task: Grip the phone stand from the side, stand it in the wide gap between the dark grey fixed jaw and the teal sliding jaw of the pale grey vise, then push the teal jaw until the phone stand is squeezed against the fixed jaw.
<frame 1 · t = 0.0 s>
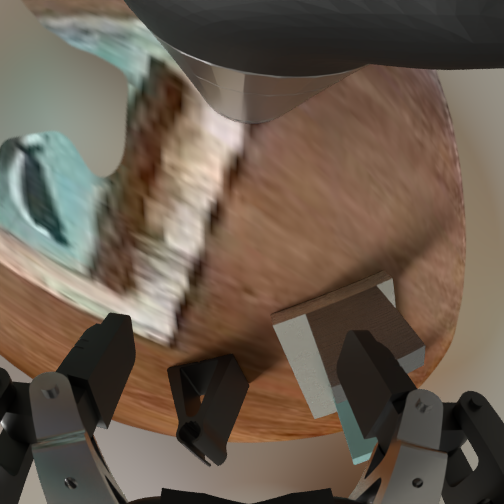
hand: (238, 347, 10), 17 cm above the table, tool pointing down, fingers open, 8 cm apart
phone stand: (208, 375, 33), on the table
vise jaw: (372, 423, 29), point 7 cm above the table, slide at 0.0 cm
vise: (349, 348, 32), on the table
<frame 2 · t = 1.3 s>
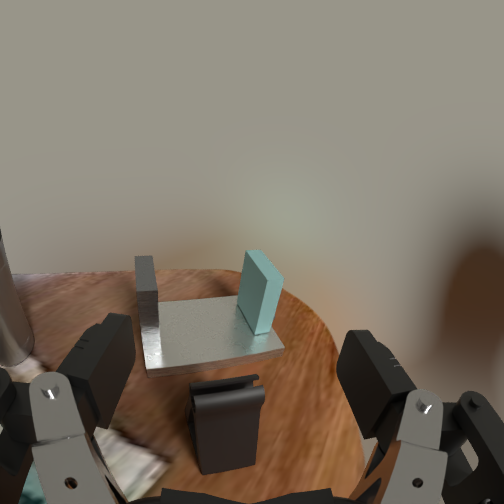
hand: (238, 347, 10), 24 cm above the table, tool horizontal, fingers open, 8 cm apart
phone stand: (217, 439, 27), on the table
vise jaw: (261, 291, 42), point 7 cm above the table, slide at 0.0 cm
vise: (201, 332, 42), on the table
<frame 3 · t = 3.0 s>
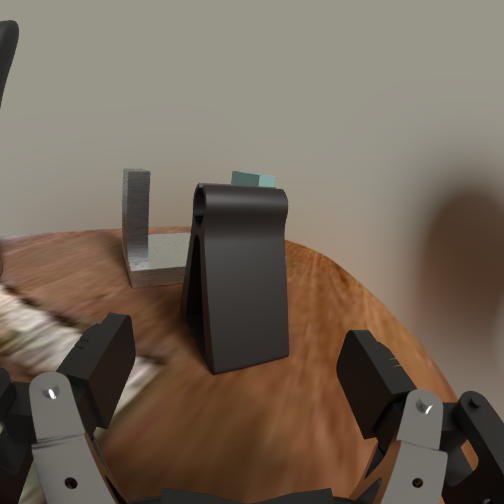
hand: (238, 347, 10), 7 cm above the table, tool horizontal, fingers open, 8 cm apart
phone stand: (228, 336, 23), on the table
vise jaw: (252, 207, 41), point 7 cm above the table, slide at 0.0 cm
vise: (192, 258, 39), on the table
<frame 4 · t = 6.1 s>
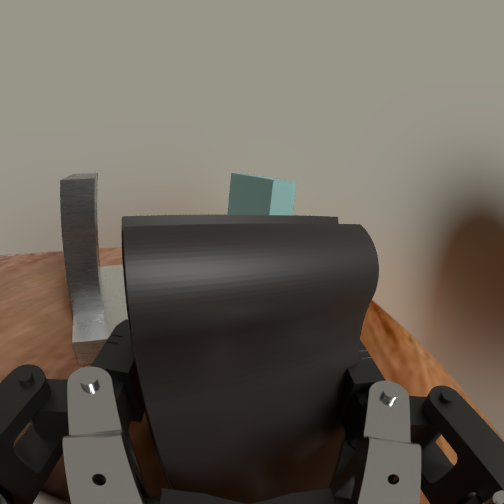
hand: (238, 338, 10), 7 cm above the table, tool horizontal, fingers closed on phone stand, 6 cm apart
phone stand: (229, 477, 10), on the table, touching gripper
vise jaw: (260, 226, 28), point 7 cm above the table, slide at 0.0 cm
vise: (174, 302, 26), on the table
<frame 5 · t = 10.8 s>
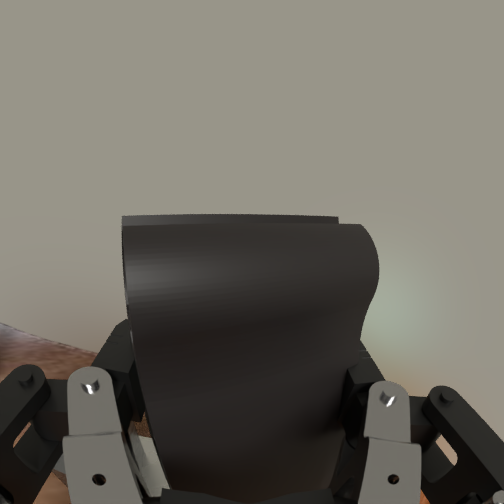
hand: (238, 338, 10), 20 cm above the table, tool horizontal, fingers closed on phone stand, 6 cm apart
phone stand: (229, 477, 10), point 12 cm above the table, touching gripper
when the fingers open (11 cm above the table, at t = 12.8 s): phone stand drops 2 cm, resting on vise.
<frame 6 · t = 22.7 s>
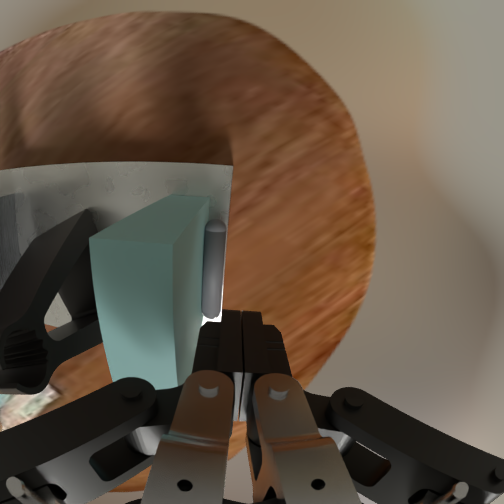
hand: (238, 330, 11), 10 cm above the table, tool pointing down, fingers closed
phone stand: (85, 277, 18), point 2 cm above the table, touching vise
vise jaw: (181, 294, 13), point 7 cm above the table, slide at 0.2 cm, touching gripper
vise: (93, 240, 19), on the table
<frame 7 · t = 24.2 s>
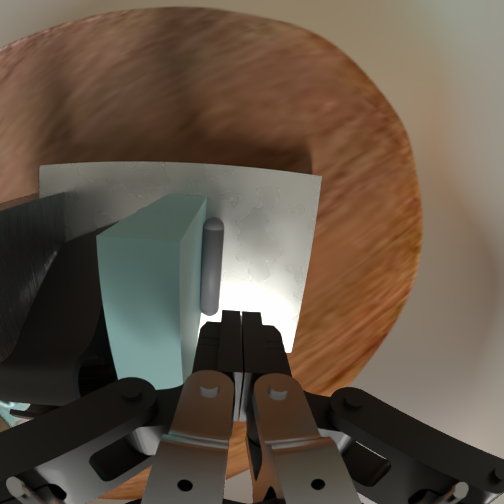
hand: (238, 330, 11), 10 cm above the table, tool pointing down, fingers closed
phone stand: (120, 286, 18), point 2 cm above the table, touching vise, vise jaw
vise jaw: (182, 292, 13), point 7 cm above the table, slide at 6.1 cm, touching phone stand, gripper
vise: (159, 245, 20), on the table
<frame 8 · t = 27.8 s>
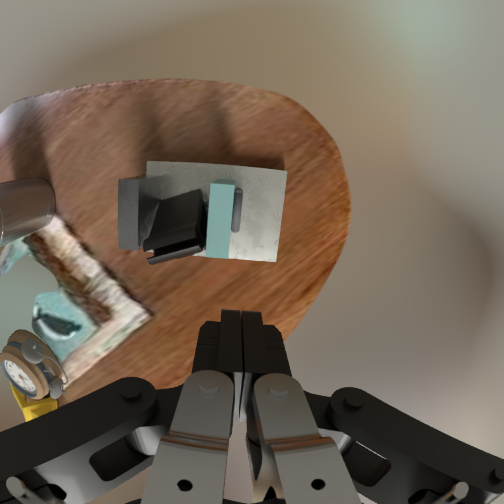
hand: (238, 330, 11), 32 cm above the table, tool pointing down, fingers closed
phone stand: (189, 223, 40), point 2 cm above the table, touching vise
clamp: (42, 397, 54), on the table
alarm clock: (42, 357, 49), on the table
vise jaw: (226, 214, 34), point 7 cm above the table, slide at 6.1 cm
vise: (209, 204, 41), on the table
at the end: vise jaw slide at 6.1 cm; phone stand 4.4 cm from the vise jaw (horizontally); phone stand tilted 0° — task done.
